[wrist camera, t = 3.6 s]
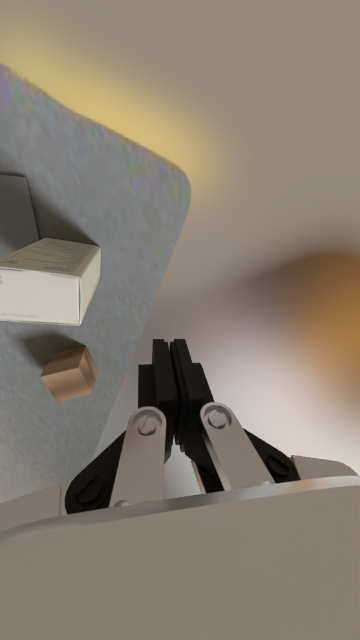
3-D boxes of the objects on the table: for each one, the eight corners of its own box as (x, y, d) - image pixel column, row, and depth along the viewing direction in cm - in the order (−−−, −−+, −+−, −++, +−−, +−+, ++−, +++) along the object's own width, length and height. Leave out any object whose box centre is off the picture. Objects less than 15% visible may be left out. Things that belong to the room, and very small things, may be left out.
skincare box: (48, 272, 27) (-9, 321, 16) (45, 235, 25) (-23, 263, 14) (102, 279, 28) (80, 328, 18) (103, 244, 26) (80, 276, 16)
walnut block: (52, 353, 33) (39, 377, 28) (86, 345, 33) (78, 367, 29) (67, 376, 35) (57, 402, 31) (98, 369, 35) (92, 393, 31)
